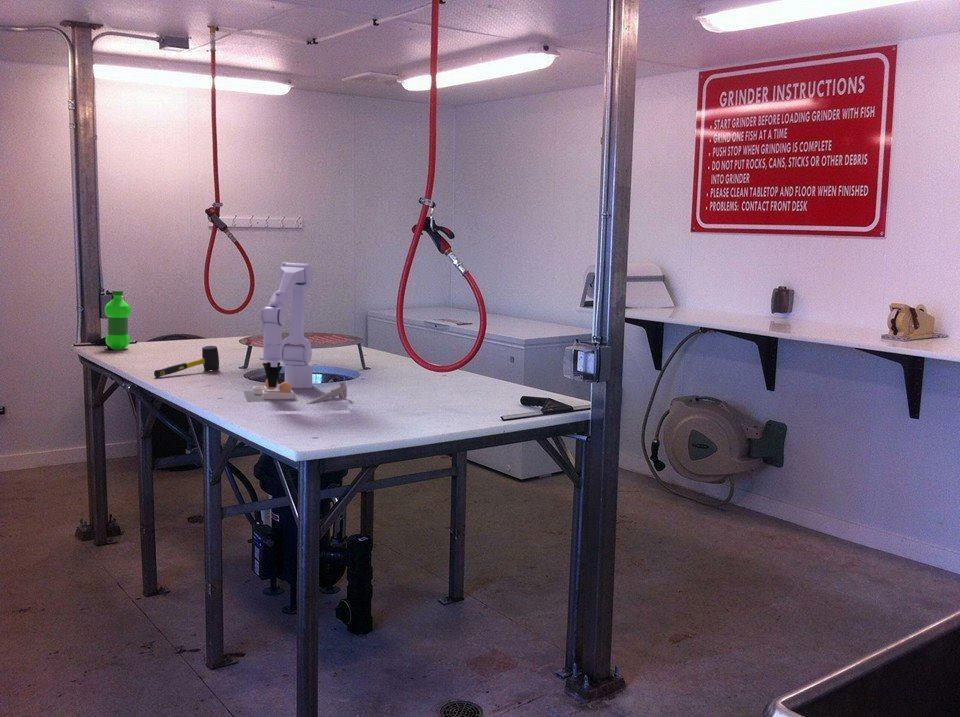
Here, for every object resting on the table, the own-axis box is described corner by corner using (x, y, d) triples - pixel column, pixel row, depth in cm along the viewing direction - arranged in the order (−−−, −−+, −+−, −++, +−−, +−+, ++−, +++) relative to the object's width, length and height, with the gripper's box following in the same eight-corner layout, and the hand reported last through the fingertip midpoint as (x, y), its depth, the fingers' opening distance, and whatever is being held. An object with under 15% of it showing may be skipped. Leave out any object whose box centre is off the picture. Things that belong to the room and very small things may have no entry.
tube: (265, 392, 295) (265, 386, 295) (266, 394, 291) (267, 388, 291) (252, 392, 294) (253, 386, 293) (253, 394, 290) (253, 388, 289)
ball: (277, 388, 288) (277, 376, 287) (278, 390, 284) (278, 378, 284) (264, 388, 287) (264, 376, 286) (265, 390, 283) (265, 378, 282)
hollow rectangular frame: (291, 396, 290) (292, 390, 290) (293, 398, 286) (293, 392, 286) (261, 396, 287) (262, 390, 287) (263, 399, 283) (263, 392, 283)
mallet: (161, 379, 314) (161, 352, 313) (149, 377, 317) (149, 351, 316) (222, 371, 339) (223, 346, 338) (211, 369, 342) (211, 344, 341)
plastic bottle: (135, 349, 381) (135, 291, 378) (112, 351, 373) (112, 291, 370) (122, 346, 388) (122, 289, 384) (100, 348, 379) (99, 290, 376)
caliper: (344, 399, 297) (344, 380, 296) (346, 399, 296) (347, 381, 295) (303, 407, 279) (304, 388, 278) (306, 408, 278) (306, 388, 278)
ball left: (290, 392, 290) (291, 380, 289) (292, 395, 286) (292, 382, 285) (278, 392, 288) (278, 380, 288) (279, 395, 284) (279, 382, 284)
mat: (292, 393, 300) (292, 390, 300) (298, 404, 283) (298, 401, 283) (243, 394, 295) (243, 391, 294) (247, 404, 278) (247, 401, 278)
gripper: (257, 341, 289) (257, 381, 291) (261, 347, 275) (260, 389, 277) (279, 341, 291) (279, 381, 293) (284, 347, 278) (283, 389, 279)
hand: (271, 385), depth 285 cm, fingers open, 4 cm apart
